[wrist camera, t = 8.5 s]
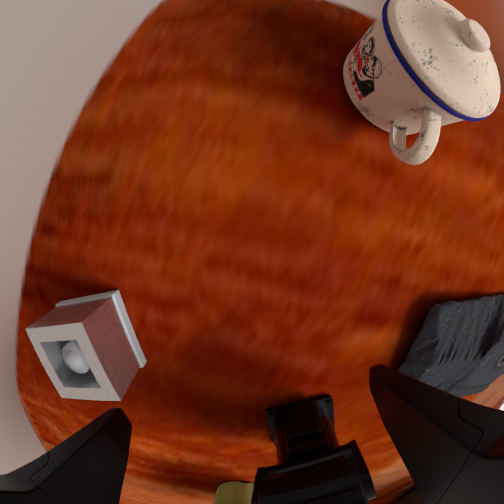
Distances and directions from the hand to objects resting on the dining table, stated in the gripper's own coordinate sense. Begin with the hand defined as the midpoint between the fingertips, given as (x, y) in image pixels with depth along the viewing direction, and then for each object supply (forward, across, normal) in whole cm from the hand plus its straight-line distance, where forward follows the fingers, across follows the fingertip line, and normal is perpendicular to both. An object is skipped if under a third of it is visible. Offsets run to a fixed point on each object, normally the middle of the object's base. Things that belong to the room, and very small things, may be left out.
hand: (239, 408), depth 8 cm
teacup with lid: (+13, -14, -12) cm, 23 cm away
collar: (+12, +14, +2) cm, 18 cm away
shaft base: (+13, +14, +2) cm, 19 cm away
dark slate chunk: (+14, -23, +15) cm, 30 cm away
